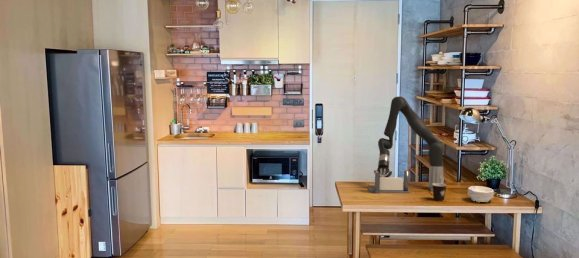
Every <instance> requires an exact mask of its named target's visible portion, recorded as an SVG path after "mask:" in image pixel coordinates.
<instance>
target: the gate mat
mask: <svg viewBox="0 0 579 258" xmlns="http://www.w3.org/2000/svg"><path fill="white" fill-rule="evenodd" d="M367 188H368V190H369V192H370V194H372V193H373V194H376V193H375V184H373V185H369V184H368V185H367ZM379 194H411V190H410V189H409V188H408V191H404V185H403V190H380V193H379Z"/></svg>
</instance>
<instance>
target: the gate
mask: <svg viewBox="0 0 579 258" xmlns="http://www.w3.org/2000/svg"><path fill="white" fill-rule="evenodd" d="M403 186H404V177H390V176H389V177H383V176H382V177H380V190H403Z"/></svg>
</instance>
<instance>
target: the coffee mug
mask: <svg viewBox="0 0 579 258" xmlns="http://www.w3.org/2000/svg"><path fill="white" fill-rule="evenodd" d="M432 185H433V187H431V188H433V191H432V193H431V190H430V189H431V188H429V187H428V193H429V194H430V195H432V196H433V200H434V201H435V202H444V201H445V197H446V191H447V184H445V183H444V184H442V183H434V184H432ZM443 200H444V201H443Z"/></svg>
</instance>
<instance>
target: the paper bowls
mask: <svg viewBox="0 0 579 258" xmlns="http://www.w3.org/2000/svg"><path fill="white" fill-rule="evenodd" d="M494 192H495V190H494V189H492V188H490V187H487V186H482V185H481V186H480V185H471V186H469V187H468V188H467V196H468V197H469V198H470V199H471V201H473V202H475V201H476V202H475V203H480V202H486V203H488V202H490V200H492V199H493V198H494Z"/></svg>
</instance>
